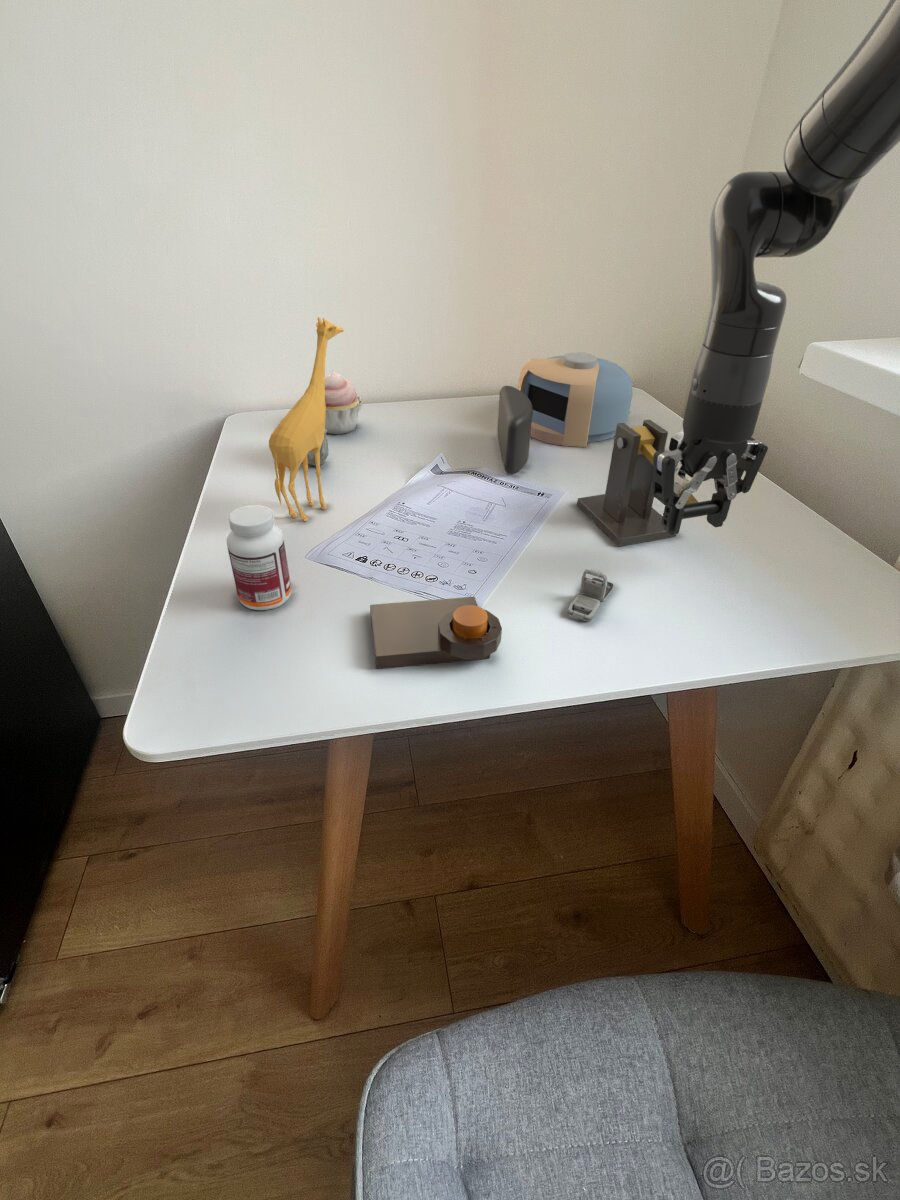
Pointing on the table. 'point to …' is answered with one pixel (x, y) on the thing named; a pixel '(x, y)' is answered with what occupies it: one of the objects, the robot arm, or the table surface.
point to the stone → (322, 452)
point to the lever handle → (692, 505)
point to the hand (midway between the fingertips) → (692, 527)
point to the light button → (470, 621)
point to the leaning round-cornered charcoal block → (514, 428)
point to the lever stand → (628, 491)
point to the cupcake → (340, 404)
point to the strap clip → (590, 596)
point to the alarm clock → (576, 398)
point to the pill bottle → (258, 558)
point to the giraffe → (303, 427)
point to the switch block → (427, 633)
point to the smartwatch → (675, 441)
